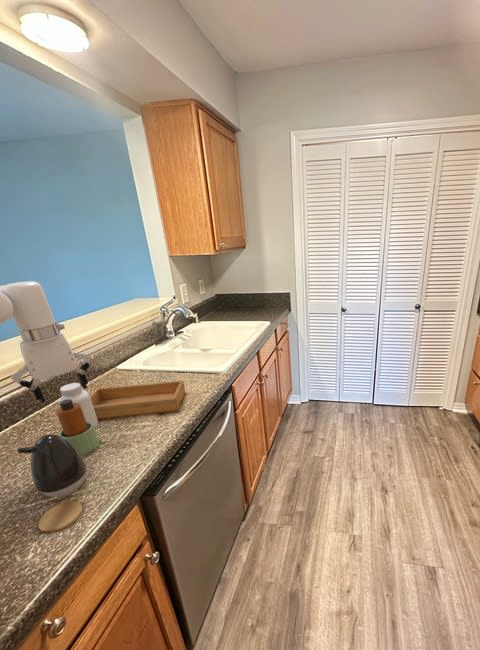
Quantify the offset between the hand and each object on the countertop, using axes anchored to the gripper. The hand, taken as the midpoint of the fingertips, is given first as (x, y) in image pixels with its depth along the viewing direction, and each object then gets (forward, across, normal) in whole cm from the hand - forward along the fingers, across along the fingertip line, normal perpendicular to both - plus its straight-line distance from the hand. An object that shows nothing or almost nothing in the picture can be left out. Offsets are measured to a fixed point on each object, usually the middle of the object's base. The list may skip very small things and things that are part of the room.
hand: (64, 393), depth 87 cm
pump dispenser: (+18, +8, +16) cm, 25 cm away
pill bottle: (+18, -3, -12) cm, 22 cm away
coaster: (+18, +11, +25) cm, 32 cm away
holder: (+18, +1, 0) cm, 18 cm away
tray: (+18, -20, -13) cm, 30 cm away
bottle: (+17, +1, 0) cm, 17 cm away
